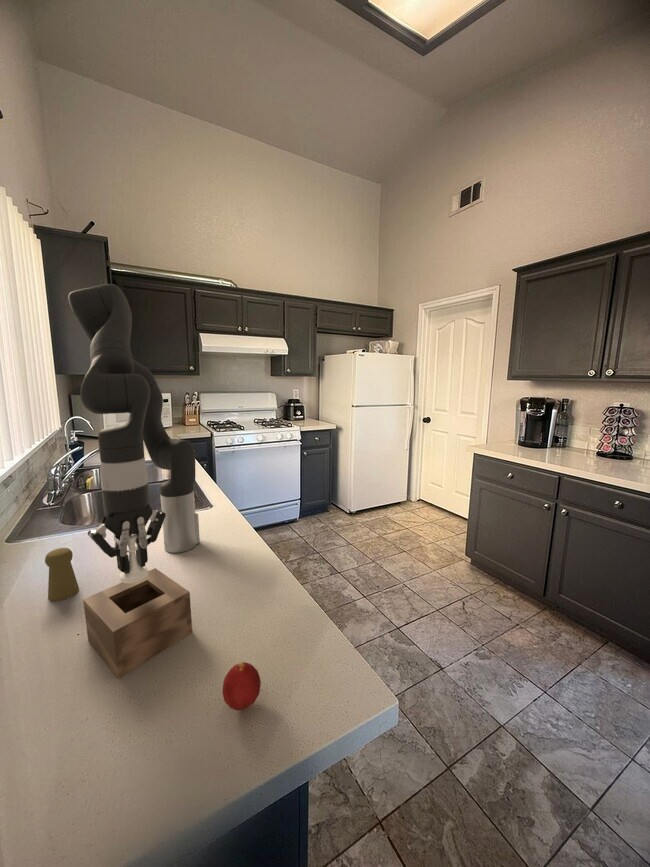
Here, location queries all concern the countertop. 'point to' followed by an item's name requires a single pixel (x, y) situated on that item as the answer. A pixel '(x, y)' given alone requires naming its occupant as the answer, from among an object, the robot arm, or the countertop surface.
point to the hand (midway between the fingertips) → (133, 568)
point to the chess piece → (133, 564)
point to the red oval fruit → (241, 686)
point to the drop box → (137, 620)
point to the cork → (61, 575)
